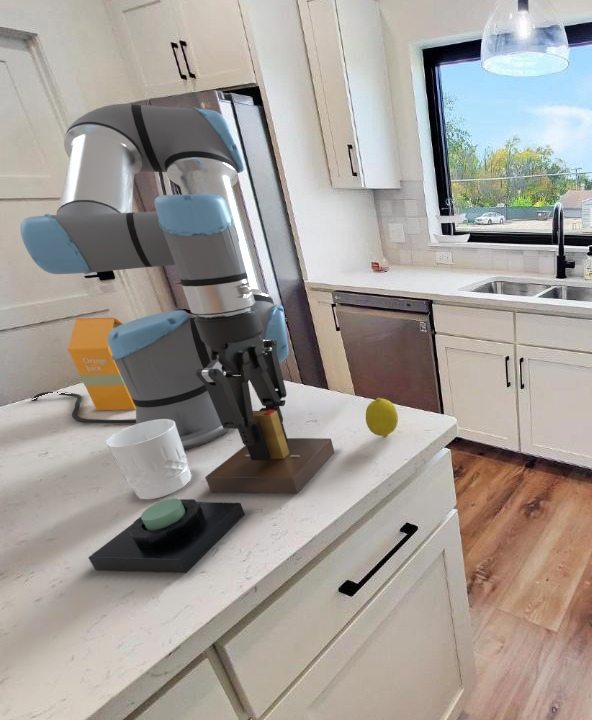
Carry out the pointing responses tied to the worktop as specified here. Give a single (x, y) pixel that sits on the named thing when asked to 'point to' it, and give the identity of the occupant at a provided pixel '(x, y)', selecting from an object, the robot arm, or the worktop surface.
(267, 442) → the lock turn
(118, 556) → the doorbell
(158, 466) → the white cup
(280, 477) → the plate
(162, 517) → the bell button
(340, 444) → the worktop surface
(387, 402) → the lemon
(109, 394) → the orange juice
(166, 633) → the worktop surface
